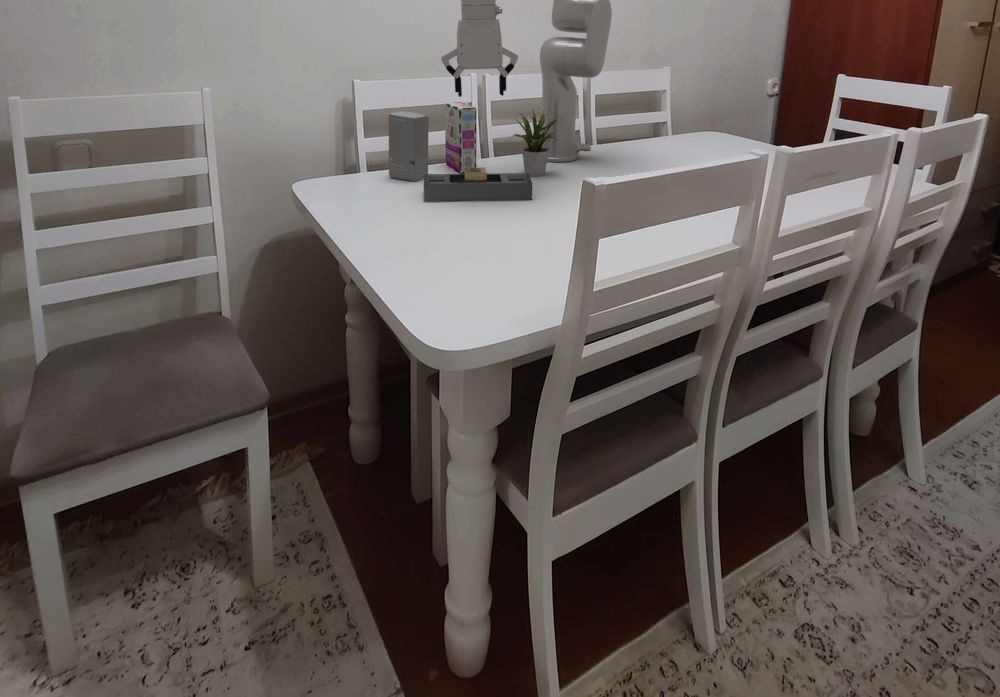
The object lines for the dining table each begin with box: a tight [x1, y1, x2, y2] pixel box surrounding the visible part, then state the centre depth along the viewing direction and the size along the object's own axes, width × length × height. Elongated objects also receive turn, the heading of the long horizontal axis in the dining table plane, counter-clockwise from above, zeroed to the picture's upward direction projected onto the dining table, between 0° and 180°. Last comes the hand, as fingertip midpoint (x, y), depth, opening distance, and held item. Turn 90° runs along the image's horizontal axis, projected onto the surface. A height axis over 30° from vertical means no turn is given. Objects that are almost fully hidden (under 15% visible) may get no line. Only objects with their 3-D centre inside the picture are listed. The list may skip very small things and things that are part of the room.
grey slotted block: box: [423, 172, 533, 202], centre depth 167 cm, size 25×9×4 cm, turn 94°
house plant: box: [512, 108, 564, 177], centre depth 182 cm, size 14×14×16 cm
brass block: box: [463, 167, 488, 183], centre depth 167 cm, size 5×5×6 cm
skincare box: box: [388, 110, 430, 182], centre depth 179 cm, size 8×7×16 cm
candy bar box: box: [444, 101, 477, 174], centre depth 187 cm, size 11×5×16 cm, turn 25°
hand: (480, 95), depth 163 cm, fingers open, 9 cm apart
